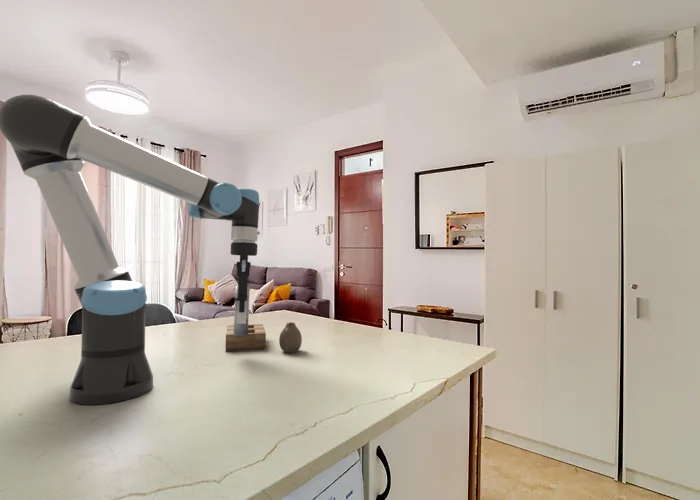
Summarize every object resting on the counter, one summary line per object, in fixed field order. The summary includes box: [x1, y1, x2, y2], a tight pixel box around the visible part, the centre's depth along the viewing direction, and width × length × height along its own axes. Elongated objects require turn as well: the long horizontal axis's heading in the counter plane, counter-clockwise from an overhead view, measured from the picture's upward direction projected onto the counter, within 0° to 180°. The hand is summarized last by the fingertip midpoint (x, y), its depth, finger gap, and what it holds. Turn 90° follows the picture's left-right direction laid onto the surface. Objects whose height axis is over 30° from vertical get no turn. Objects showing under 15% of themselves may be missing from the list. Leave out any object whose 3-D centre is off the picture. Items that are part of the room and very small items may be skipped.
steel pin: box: [233, 285, 251, 336], centre depth 110 cm, size 4×4×14 cm
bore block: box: [225, 323, 267, 352], centre depth 125 cm, size 16×12×5 cm
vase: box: [278, 321, 303, 354], centre depth 116 cm, size 7×7×9 cm
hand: (241, 322), depth 110 cm, fingers closed on steel pin, 4 cm apart
